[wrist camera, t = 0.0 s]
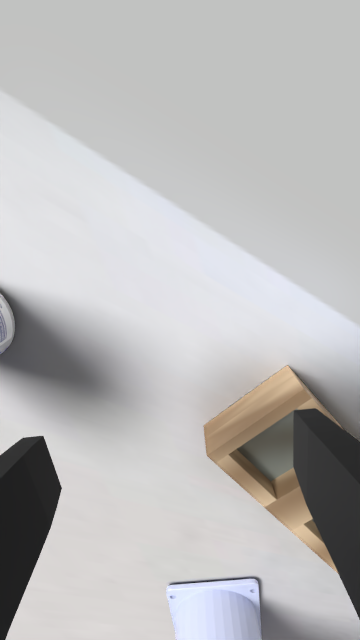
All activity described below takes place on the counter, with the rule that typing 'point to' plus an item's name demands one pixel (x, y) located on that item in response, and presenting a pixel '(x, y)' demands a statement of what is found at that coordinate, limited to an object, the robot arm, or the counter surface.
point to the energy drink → (6, 324)
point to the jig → (268, 451)
